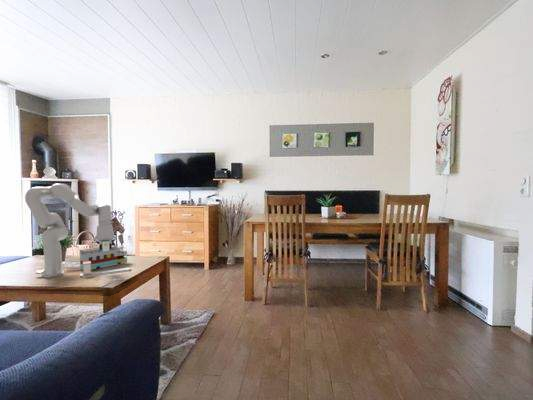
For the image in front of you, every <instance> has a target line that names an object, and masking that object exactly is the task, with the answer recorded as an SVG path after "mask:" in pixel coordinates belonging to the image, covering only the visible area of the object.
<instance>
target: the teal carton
mask: <svg viewBox="0 0 533 400" xmlns="http://www.w3.org/2000/svg"><path fill="white" fill-rule="evenodd" d="M101 244H102V253H110V241H109V240H102V242H101Z"/></svg>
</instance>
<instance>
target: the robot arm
mask: <svg viewBox="0 0 533 400" xmlns="http://www.w3.org/2000/svg"><path fill="white" fill-rule="evenodd" d="M24 195H25V196H24V199H25V200H24V201H25V203H26V206H27V207H28V208H29V210H30V212H31V214H32V216H33V218H34V220H35V222H36V223H37V225H38V226H39V228H45V230H43V232H42V234H41V239H42V244H43V262H44V265H43V267H44V269H42V270H37V271H36V272H35V274H36V275H41V277H42V278H47V279H48V278H51V277H54V276H55V277H56V276H61V275H63V274H65V273H66V272H65V271H64V270H63V262H62V261H63V259H62V257H63V256H62V255H63V253H62V245H61V242H60V241H63V240H65V239H66V238H67V237H68V235H69V234H68V233H69V232H68V229H67V227H66V225H65V223H64V221H63V219H62V217H61V216H60V215H59V214H58V213H56V212H50V211H49V210H48V208H47V206H46V205H45V203H44V202H43V201H42V200H51V199H52V200H53V199H60V200H61V201H63V202H65V204H68V205H69V206H70V207H71V208H72V209H73V210H74V211H75V212H76V213H78V214H80V215H82V216H84V217H88V218H90V217H95V216H97V217H98V219H97V221H98V225H97V226H96V234H95V237H94V238H93V239H92V241H93V242H94V243H96V244H97V245H99V249H100V250H101V251H102V244H101V242H102V240H109V241H110V250H111V248H112V244H113V243H114V242H115V241H116V240H117V239H118V237H116V236H115V234H114V227H113V226H114V225H113V224H114V220H112V210H111V205H109V204H102V205H101V204H87V203H86V202H84V201H82V200H81V199H80V195H79V194H78V193H77V192H75V191H73V190H72V188H71V186H70V185H69V184H66V183H53V184H52V185H51V186H34V187H31V188H29V189H28V190H27V191H26V193H25V194H24Z"/></svg>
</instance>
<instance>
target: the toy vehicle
mask: <svg viewBox="0 0 533 400" xmlns="http://www.w3.org/2000/svg"><path fill="white" fill-rule="evenodd" d="M111 245H112V244H111ZM127 255H128V251H127V250H124V246H122V245H112V248H111V250H110V253H102V251H101V250H100V249H99V247H98V246H96V247H91V248H90V247H89V248H83V249H80V250H79V258H80V259H79V266H80V270H81V271H83V262H88V261H91V271H92V270H98V269H102V268H106V267H111V266H116V265H117V266H118V265H121V264H126V263H128V257H127Z"/></svg>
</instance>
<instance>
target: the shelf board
mask: <svg viewBox="0 0 533 400" xmlns="http://www.w3.org/2000/svg"><path fill="white" fill-rule="evenodd" d="M131 271H132V269H131V268H130V267H123V268H115V269H108V270H99V271H91V274H90V275H83V272H82V273H79V278H89V277H96V276H103V275H110V274H111V275H112V274H119V273H124V272H125V273H127V272H131Z"/></svg>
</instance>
